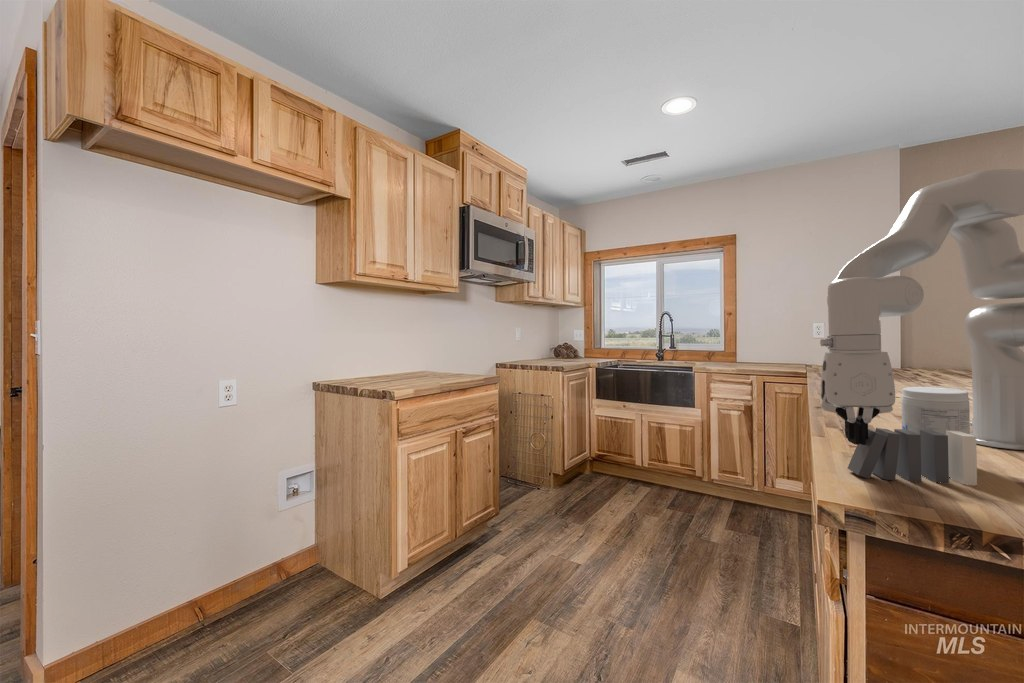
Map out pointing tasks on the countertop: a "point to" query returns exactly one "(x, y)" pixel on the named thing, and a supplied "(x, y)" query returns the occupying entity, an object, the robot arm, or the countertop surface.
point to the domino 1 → (867, 454)
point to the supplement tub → (935, 409)
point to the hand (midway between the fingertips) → (856, 442)
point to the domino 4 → (934, 456)
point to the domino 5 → (962, 457)
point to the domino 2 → (888, 455)
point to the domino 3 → (909, 455)
